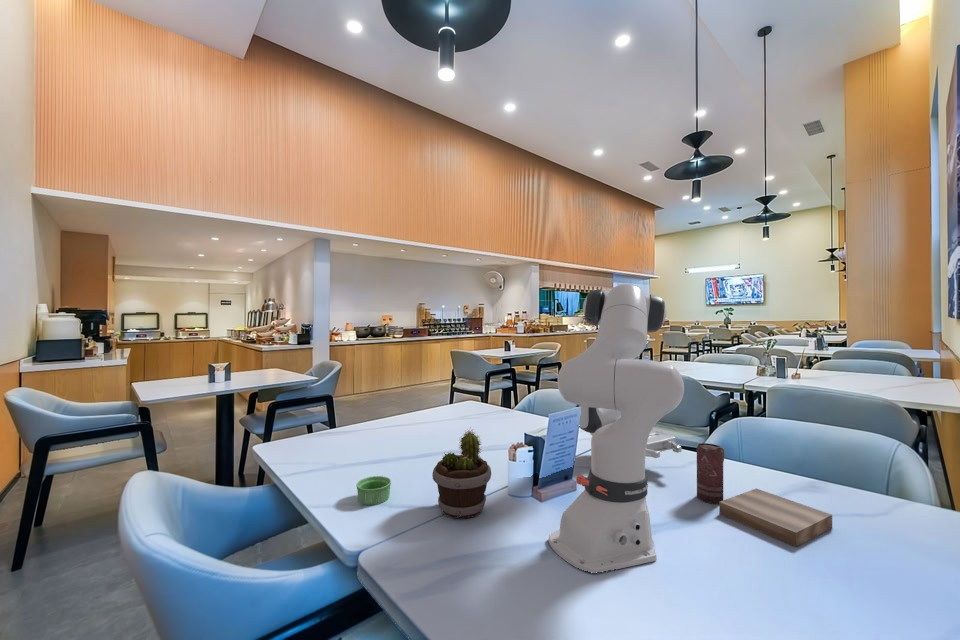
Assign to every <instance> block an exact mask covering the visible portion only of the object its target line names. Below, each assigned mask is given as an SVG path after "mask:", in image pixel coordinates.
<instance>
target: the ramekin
mask: <svg viewBox="0 0 960 640" xmlns="http://www.w3.org/2000/svg"><path fill="white" fill-rule="evenodd" d="M391 484H392V480H391V478H389V477H387V476H383V475H380V476H379V475H375V476H369V477H368V476H367V477H364V478H362V479H360V480H359V481H357V483H356V489H357V499H358V503H360V504H361V505H364V506H365V505H366V506H376V505H380V504H383V503H385V502H386V501H387V500H389V499H390V494H391Z"/></svg>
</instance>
